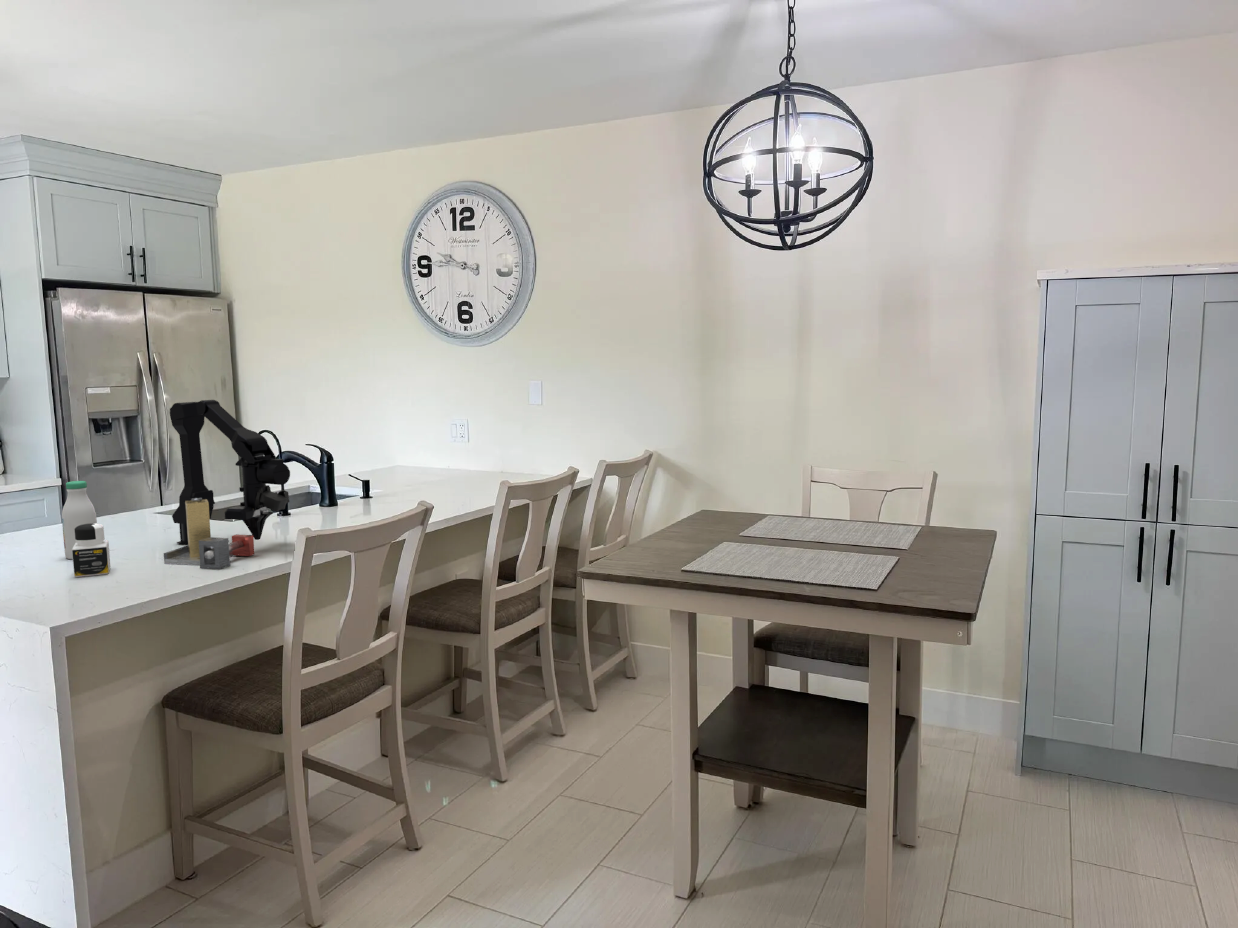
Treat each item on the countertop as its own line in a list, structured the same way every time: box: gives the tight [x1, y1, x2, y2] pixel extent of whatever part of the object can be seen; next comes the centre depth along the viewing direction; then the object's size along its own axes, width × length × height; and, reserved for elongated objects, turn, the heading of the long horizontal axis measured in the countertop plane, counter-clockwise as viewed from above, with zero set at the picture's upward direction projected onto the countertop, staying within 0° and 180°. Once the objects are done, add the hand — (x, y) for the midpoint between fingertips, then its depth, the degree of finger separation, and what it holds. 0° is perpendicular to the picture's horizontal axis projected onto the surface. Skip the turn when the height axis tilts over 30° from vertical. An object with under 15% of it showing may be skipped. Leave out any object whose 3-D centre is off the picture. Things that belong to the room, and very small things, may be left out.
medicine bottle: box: [72, 522, 111, 578], centre depth 208 cm, size 7×7×12 cm
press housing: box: [199, 536, 231, 570], centre depth 214 cm, size 6×4×7 cm
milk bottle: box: [61, 480, 98, 560], centre depth 224 cm, size 8×8×20 cm
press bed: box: [163, 544, 234, 566], centre depth 222 cm, size 12×12×3 cm
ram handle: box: [204, 534, 255, 559], centre depth 219 cm, size 5×15×5 cm, turn 169°
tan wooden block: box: [185, 498, 212, 557], centre depth 221 cm, size 5×5×15 cm
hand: (257, 539), depth 231 cm, fingers closed
